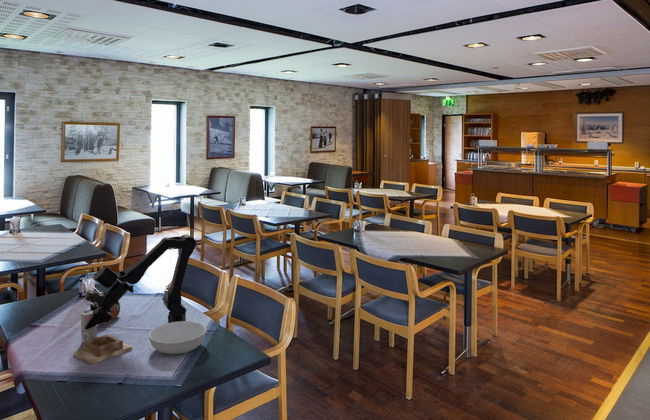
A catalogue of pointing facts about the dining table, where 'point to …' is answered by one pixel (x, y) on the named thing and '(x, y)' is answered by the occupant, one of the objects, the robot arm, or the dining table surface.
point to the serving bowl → (177, 337)
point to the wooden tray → (101, 349)
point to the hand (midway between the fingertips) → (84, 326)
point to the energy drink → (85, 318)
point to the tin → (114, 312)
